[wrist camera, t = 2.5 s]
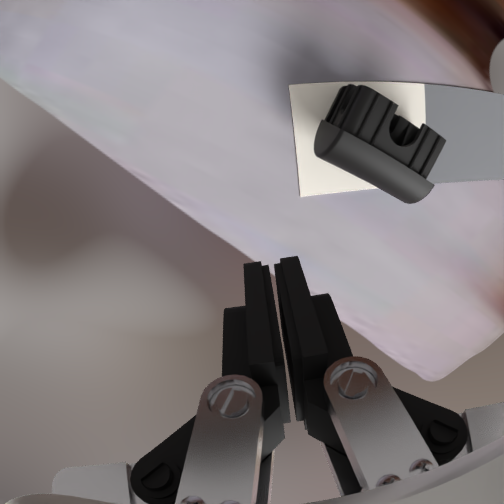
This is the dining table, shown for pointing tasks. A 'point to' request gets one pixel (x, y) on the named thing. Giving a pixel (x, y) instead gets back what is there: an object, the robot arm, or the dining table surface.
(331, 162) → the end cap
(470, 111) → the mat
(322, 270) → the dining table surface
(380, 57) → the dining table surface
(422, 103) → the board
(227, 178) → the dining table surface
